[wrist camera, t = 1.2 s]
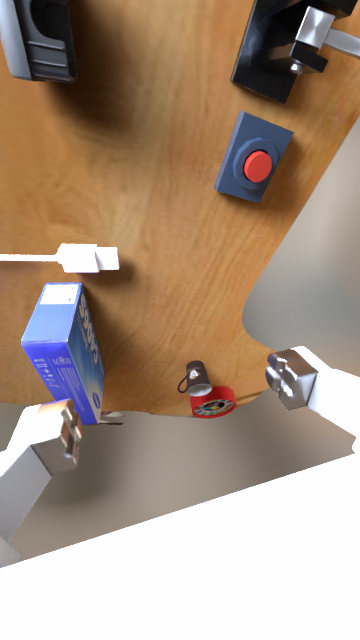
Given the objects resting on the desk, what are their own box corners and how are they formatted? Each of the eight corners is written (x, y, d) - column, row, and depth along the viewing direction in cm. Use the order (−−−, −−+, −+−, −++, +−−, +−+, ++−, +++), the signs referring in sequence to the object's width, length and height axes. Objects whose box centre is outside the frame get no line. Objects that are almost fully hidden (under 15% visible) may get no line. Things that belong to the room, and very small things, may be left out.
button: (251, 147, 36) (254, 149, 35) (272, 155, 37) (276, 157, 36) (239, 175, 39) (242, 178, 38) (260, 182, 40) (263, 185, 39)
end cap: (-12, -64, 24) (-49, -99, 19) (62, -45, 25) (44, -74, 20) (23, 77, 31) (2, 76, 26) (79, 86, 32) (69, 87, 27)
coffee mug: (207, 357, 84) (213, 382, 77) (205, 370, 90) (210, 394, 83) (175, 361, 83) (178, 386, 76) (175, 373, 89) (178, 398, 82)
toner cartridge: (106, 371, 82) (99, 424, 69) (81, 372, 81) (70, 427, 68) (84, 281, 54) (66, 342, 42) (45, 281, 53) (16, 344, 40)
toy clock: (231, 416, 112) (190, 420, 109) (227, 404, 116) (188, 408, 113) (241, 397, 97) (194, 401, 95) (237, 384, 101) (192, 388, 99)
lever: (425, 52, 24) (442, 43, 22) (398, 94, 26) (410, 90, 24) (308, 9, 24) (312, -5, 22) (290, 53, 27) (292, 45, 24)
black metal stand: (326, -1, 29) (398, -33, 21) (281, 103, 36) (323, 110, 28) (265, -40, 27) (321, -93, 18) (229, 80, 33) (258, 80, 25)
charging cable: (-53, 240, 45) (-64, 249, 43) (117, 244, 48) (115, 252, 46) (-37, 263, 49) (-47, 272, 46) (120, 265, 52) (118, 273, 50)
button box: (240, 110, 36) (248, 113, 33) (287, 130, 38) (299, 134, 36) (213, 187, 43) (218, 194, 40) (255, 199, 46) (262, 207, 43)
